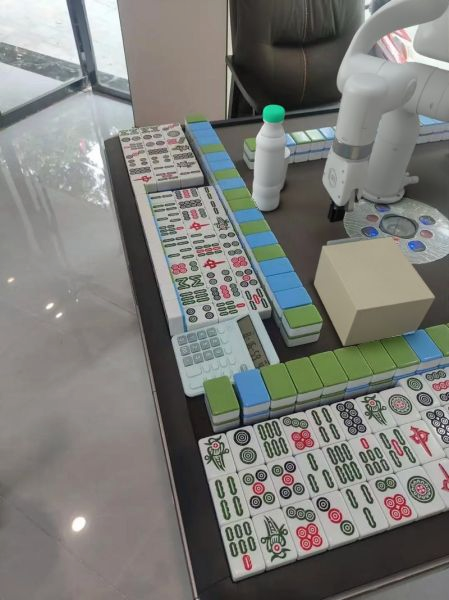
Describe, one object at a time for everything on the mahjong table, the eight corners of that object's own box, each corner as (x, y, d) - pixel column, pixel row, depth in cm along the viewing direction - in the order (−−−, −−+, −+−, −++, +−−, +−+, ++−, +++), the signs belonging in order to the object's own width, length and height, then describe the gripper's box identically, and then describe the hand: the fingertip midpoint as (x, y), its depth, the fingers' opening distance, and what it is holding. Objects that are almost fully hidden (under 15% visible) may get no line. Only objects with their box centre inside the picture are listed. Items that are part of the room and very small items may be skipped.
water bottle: (276, 214, 109) (289, 117, 90) (249, 210, 110) (255, 113, 91) (280, 198, 113) (292, 102, 95) (253, 194, 114) (260, 99, 95)
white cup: (255, 177, 120) (257, 144, 112) (283, 176, 120) (287, 142, 113) (258, 194, 114) (261, 160, 107) (288, 192, 115) (293, 159, 107)
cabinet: (313, 283, 93) (322, 246, 85) (377, 274, 95) (391, 236, 87) (343, 346, 82) (357, 310, 74) (414, 334, 84) (435, 297, 76)
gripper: (320, 127, 87) (307, 201, 101) (349, 169, 78) (331, 244, 92) (355, 123, 88) (338, 197, 102) (388, 163, 79) (364, 238, 93)
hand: (335, 219), depth 97 cm, fingers closed
